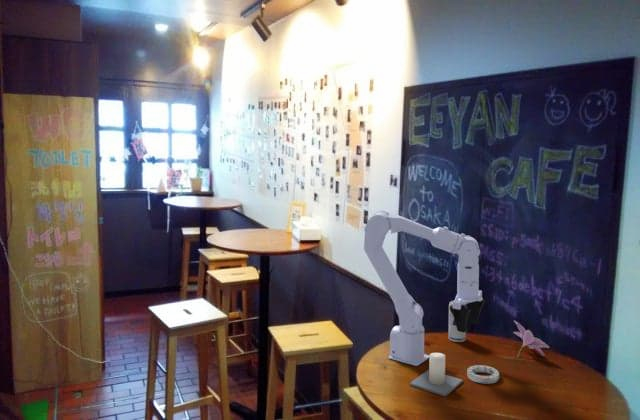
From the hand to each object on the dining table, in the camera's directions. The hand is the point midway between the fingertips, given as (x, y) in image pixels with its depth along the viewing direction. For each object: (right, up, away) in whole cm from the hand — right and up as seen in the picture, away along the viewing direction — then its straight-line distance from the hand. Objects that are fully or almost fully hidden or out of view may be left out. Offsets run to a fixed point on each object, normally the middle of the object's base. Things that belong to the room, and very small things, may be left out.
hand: (467, 327), depth 147 cm
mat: (-11, -12, -11) cm, 20 cm away
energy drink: (+2, -8, +19) cm, 21 cm away
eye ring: (+2, -11, -7) cm, 14 cm away
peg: (-11, -12, -11) cm, 19 cm away
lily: (+20, -10, +6) cm, 23 cm away
